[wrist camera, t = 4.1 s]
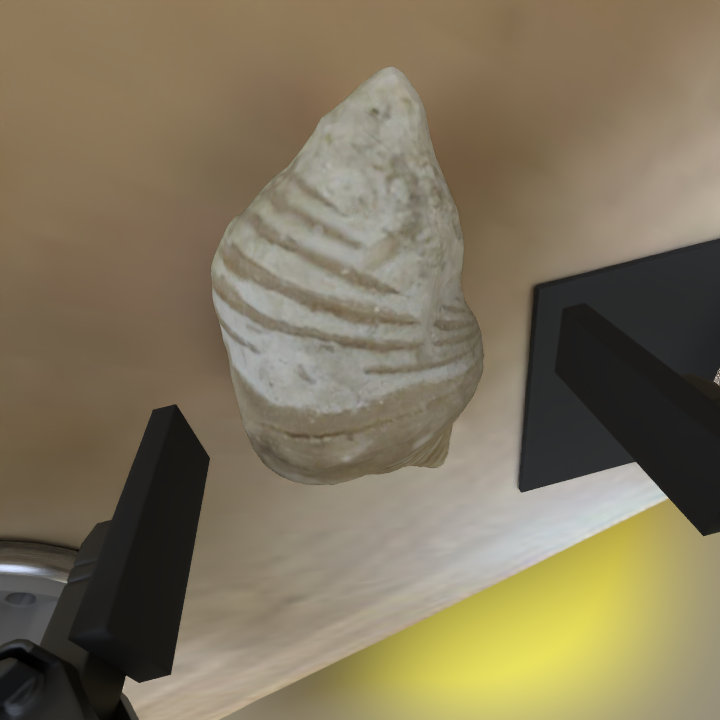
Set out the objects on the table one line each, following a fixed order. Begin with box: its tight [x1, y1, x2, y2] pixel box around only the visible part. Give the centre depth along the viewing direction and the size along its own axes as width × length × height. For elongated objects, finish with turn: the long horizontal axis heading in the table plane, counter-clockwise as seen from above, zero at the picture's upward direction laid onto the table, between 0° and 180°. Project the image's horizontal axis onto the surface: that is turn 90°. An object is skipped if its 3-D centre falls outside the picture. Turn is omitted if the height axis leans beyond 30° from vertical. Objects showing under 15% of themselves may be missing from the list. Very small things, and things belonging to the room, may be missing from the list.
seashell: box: [211, 66, 484, 485], centre depth 15 cm, size 14×9×10 cm
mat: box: [519, 239, 720, 492], centre depth 24 cm, size 12×16×1 cm
